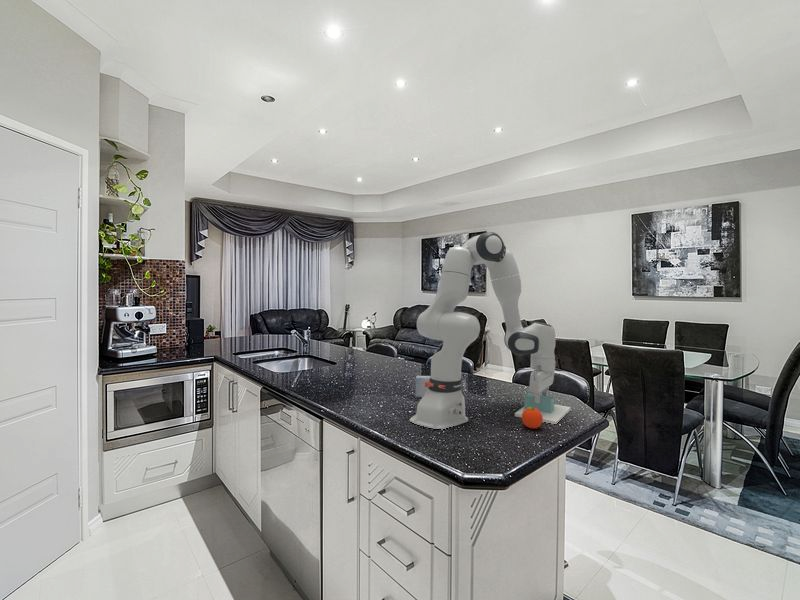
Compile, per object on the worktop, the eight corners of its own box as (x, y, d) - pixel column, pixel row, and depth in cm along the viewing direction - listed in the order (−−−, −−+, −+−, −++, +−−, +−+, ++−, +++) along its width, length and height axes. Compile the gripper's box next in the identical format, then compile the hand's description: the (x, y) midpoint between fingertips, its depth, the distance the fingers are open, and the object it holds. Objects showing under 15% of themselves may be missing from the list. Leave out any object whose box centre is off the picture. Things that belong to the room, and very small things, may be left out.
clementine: (515, 424, 139) (515, 404, 138) (530, 422, 141) (531, 402, 141) (530, 432, 131) (531, 411, 131) (546, 430, 134) (547, 409, 134)
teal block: (524, 408, 154) (550, 413, 148) (524, 395, 154) (551, 400, 148) (528, 405, 158) (554, 410, 153) (528, 392, 158) (554, 397, 152)
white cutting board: (556, 425, 139) (556, 421, 139) (514, 416, 148) (514, 413, 148) (570, 410, 157) (570, 407, 157) (532, 403, 166) (532, 400, 166)
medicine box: (433, 395, 174) (434, 376, 174) (433, 398, 170) (434, 378, 169) (415, 394, 175) (416, 375, 174) (415, 397, 170) (415, 377, 170)
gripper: (543, 369, 142) (541, 407, 143) (557, 361, 159) (556, 395, 159) (525, 367, 146) (524, 404, 146) (541, 359, 162) (540, 392, 163)
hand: (541, 399), depth 153 cm, fingers open, 8 cm apart
